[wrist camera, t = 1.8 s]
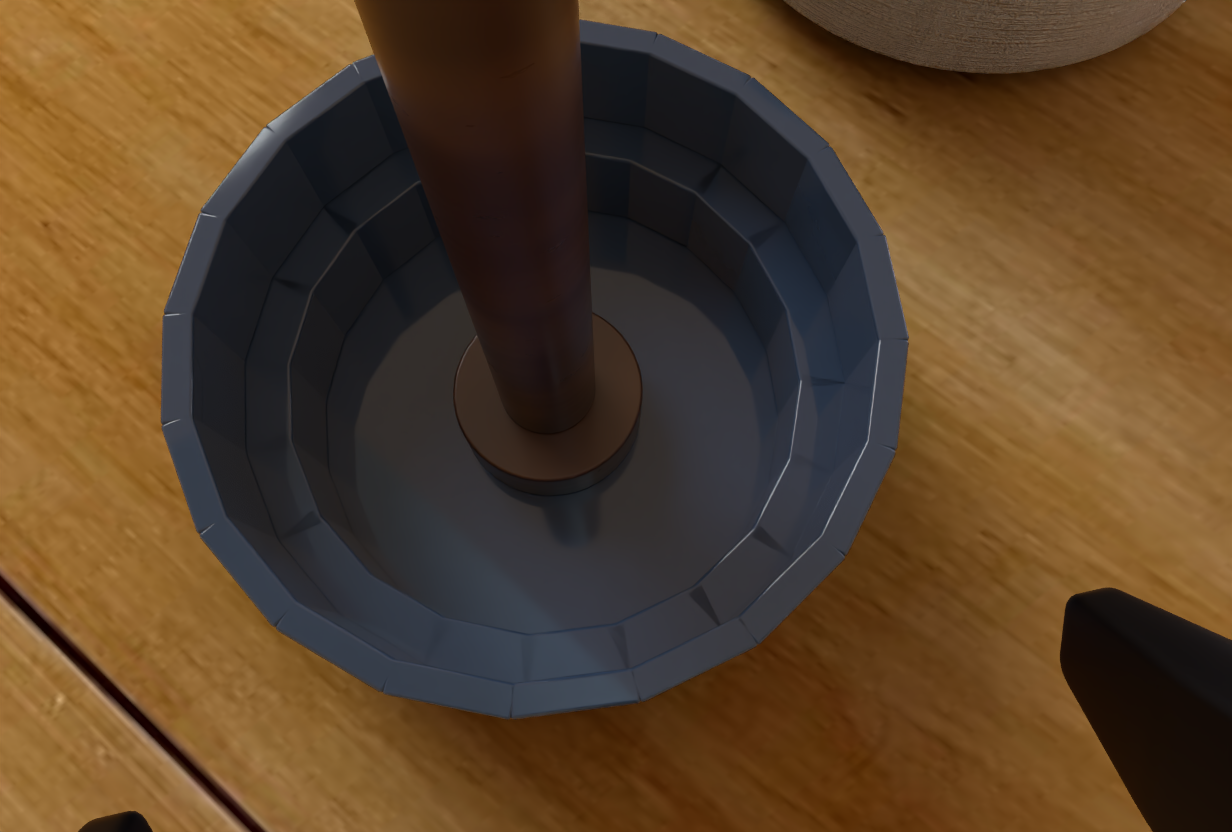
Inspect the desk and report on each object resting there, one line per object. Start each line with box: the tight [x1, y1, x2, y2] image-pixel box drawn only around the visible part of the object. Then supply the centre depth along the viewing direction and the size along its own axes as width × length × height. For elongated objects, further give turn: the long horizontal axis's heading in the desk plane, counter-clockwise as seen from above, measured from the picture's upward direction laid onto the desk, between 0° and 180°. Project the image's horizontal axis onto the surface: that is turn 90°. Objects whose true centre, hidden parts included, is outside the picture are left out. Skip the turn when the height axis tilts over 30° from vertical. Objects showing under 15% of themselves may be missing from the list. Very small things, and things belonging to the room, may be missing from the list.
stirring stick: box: [354, 0, 643, 496], centre depth 15 cm, size 4×4×16 cm
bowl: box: [161, 19, 909, 720], centre depth 21 cm, size 14×14×6 cm
